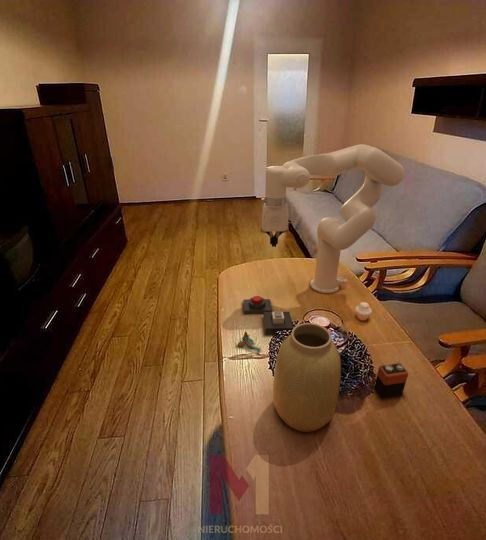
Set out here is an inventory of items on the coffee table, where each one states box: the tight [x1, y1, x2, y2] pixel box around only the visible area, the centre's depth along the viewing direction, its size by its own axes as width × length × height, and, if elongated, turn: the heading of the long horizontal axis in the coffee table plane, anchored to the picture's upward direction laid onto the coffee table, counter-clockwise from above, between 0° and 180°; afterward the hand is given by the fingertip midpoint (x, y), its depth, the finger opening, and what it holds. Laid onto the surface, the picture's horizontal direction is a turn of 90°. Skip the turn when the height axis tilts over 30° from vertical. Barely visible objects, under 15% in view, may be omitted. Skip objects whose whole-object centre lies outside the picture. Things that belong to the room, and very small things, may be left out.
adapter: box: [262, 311, 294, 336], centre depth 129 cm, size 10×10×3 cm
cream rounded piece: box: [354, 301, 373, 321], centre depth 132 cm, size 6×6×7 cm
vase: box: [272, 322, 342, 433], centre depth 90 cm, size 17×17×27 cm
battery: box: [373, 362, 409, 399], centre depth 100 cm, size 4×7×10 cm, turn 100°
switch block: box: [242, 296, 273, 315], centre depth 140 cm, size 11×8×4 cm
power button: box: [252, 295, 263, 304], centre depth 139 cm, size 4×4×2 cm
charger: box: [272, 310, 284, 324], centre depth 129 cm, size 4×4×6 cm
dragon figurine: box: [236, 330, 260, 355], centre depth 120 cm, size 6×7×8 cm
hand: (273, 245), depth 138 cm, fingers closed
